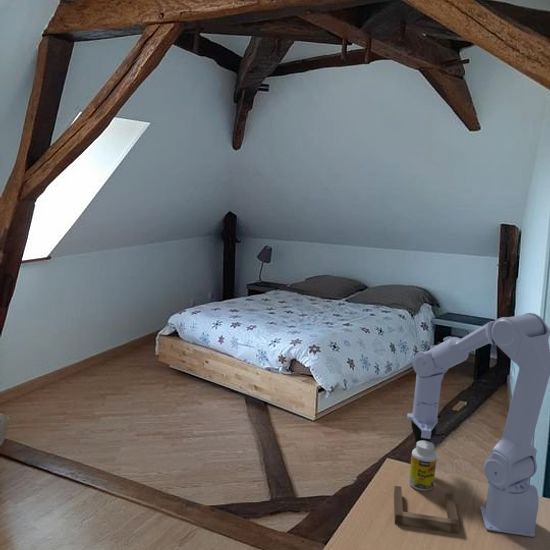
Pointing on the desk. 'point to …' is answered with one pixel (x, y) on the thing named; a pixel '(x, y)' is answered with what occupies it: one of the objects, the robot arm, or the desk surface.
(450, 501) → the wooden u-shaped block
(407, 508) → the desk surface
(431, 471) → the supplement bottle
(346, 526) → the desk surface
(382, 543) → the desk surface
